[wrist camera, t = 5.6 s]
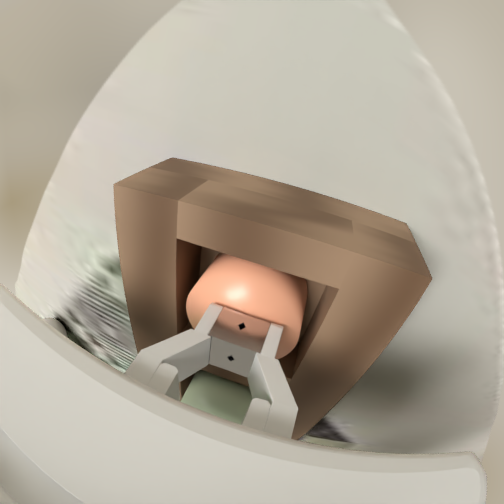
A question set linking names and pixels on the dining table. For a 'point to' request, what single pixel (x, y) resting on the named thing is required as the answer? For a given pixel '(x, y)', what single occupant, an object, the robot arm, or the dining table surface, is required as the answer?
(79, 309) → the dining table surface
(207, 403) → the sage button
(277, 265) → the button panel
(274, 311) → the terracotta button
